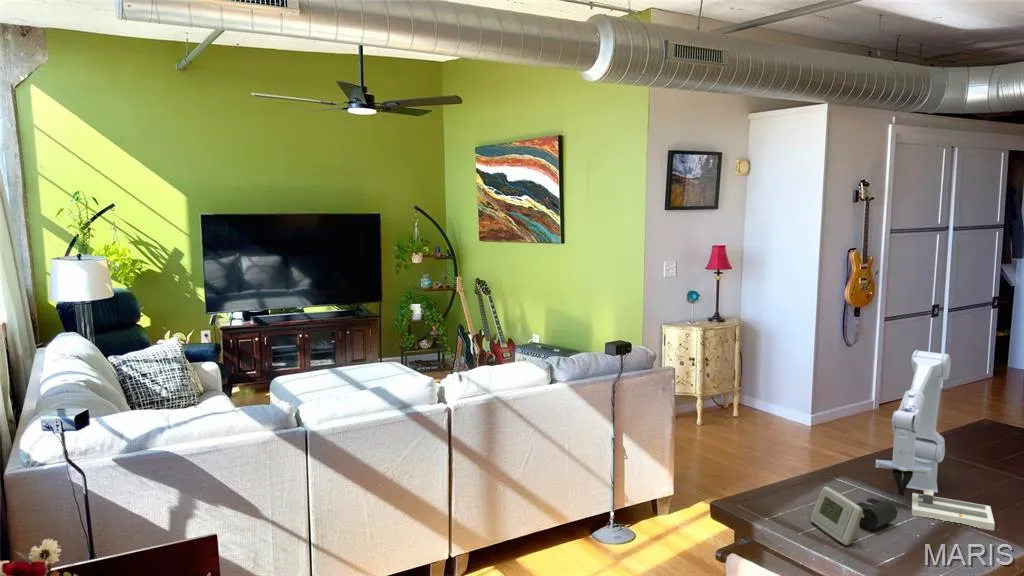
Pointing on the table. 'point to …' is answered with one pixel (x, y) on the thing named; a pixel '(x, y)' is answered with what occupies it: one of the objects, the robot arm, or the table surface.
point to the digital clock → (837, 516)
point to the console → (954, 511)
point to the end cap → (877, 513)
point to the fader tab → (928, 496)
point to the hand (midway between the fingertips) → (901, 494)
